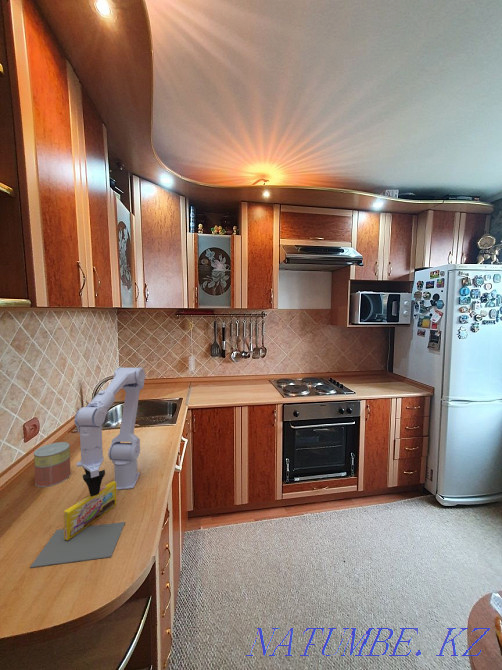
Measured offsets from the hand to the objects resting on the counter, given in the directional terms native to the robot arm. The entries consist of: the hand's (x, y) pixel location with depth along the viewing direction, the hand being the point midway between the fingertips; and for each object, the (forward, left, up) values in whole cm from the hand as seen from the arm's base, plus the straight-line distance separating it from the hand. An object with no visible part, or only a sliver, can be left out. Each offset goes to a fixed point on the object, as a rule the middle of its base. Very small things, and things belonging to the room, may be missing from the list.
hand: (93, 488), depth 82 cm
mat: (+9, 0, -10) cm, 13 cm away
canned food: (-26, -25, -10) cm, 38 cm away
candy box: (+1, 0, -10) cm, 10 cm away
